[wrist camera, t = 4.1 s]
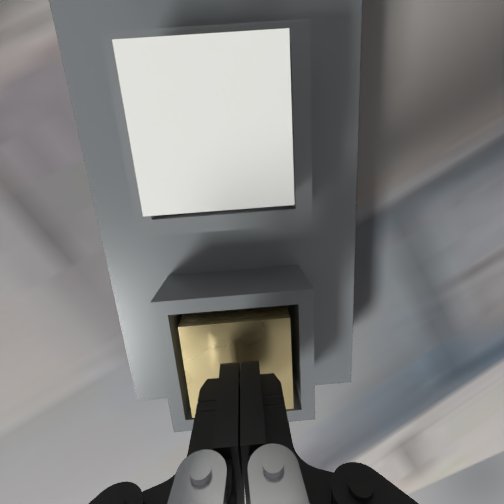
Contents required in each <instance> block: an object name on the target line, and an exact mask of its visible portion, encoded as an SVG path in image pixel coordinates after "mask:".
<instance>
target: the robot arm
mask: <svg viewBox="0 0 504 504" xmlns="http://www.w3.org/2000/svg"><path fill="white" fill-rule="evenodd" d="M244 485H245V494H246V504H418V503H417V502H415V501H414V500H413V499H412V498H410V497H409V496H408V495H406V494H405V493H404V492H402V491H401V490H400V489H399V488H397V487H396V486H395V485H393V484H392V483H391V482H389V481H388V480H387V479H385V478H384V477H383V476H382V475H380V474H379V473H378V472H376V471H375V470H373V469H372V468H370V467H369V466H367V465H364V464H361V463H357V462H349V463H345V464H342V465H341V466H339V467H338V468H337V469H336V470H335V472H334V473H333V472H329V471H325V470H321V469H317V468H314V467H312V466H310V465H308V464H307V463H305V462H304V461H303V460H302V459H301V458H300V457H299V456H298V455H297V453H296V452H295V449H294V447H293V444H292V439H291V433H290V428H289V423H288V417H287V412H286V407H285V401H284V396H283V391H282V385H281V382H280V381H279V379H278V378H277V377H276V375H275V374H274V373H269V374H260V368H259V360H256V361H244V362H240V364H239V362H234V363H222V364H220V371H219V378H212V379H207V380H206V381H205V383H204V384H203V386H202V387H201V388H200V391H199V396H198V404H197V407H196V414H195V418H194V423H193V429H192V434H191V439H190V445H189V450H188V455H187V458H185V459H184V460H183V461H182V463H181V464H180V466H179V467H178V469H177V472H176V474H175V475H174V476H173V477H171V478H170V479H169V480H167V481H165V482H163V483H161V484H159V485H157V486H154V487H152V488H150V489H148V490H145V491H143V492H142V491H141V489H140V488H139V487H138V486H137V485H136V484H134V483H132V482H121V483H117V484H114V485H112V486H110V487H108V488H107V489H105V490H104V491H102V492H101V493H100V494H99V495H98V496H97V497H96V498H94V499H93V500H92V501H91V502H90V503H89V504H245V501H244Z"/></svg>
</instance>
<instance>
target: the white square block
mask: <svg viewBox="0 0 504 504" xmlns="http://www.w3.org/2000/svg"><path fill="white" fill-rule="evenodd" d="M112 43H113V48H114V54H115V60H116V65H117V71H118V77H119V82H120V88H121V94H122V100H123V105H124V111H125V117H126V122H127V128H128V134H129V139H130V145H131V151H132V156H133V162H134V168H135V174H136V179H137V185H138V191H139V196H140V202H141V208H142V213H143V217H144V216H157V215H170V214H183V213H196V212H209V211H223V210H236V209H249V208H262V207H275V206H288V205H295V202H294V168H293V135H292V102H291V68H290V35H289V28H283V29H267V30H252V31H236V32H221V33H205V34H189V35H174V36H158V37H143V38H127V39H112Z"/></svg>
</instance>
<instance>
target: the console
mask: <svg viewBox="0 0 504 504" xmlns="http://www.w3.org/2000/svg"><path fill="white" fill-rule="evenodd" d="M49 2H50V7H51V11H52V16H53V20H54V25H55V29H56V34H57V38H58V43H59V47H60V52H61V57H62V61H63V66H64V70H65V75H66V79H67V84H68V88H69V93H70V97H71V102H72V107H73V111H74V116H75V120H76V125H77V129H78V134H79V138H80V143H81V147H82V152H83V157H84V161H85V166H86V170H87V175H88V179H89V184H90V188H91V193H92V197H93V202H94V206H95V211H96V216H97V220H98V225H99V229H100V234H101V238H102V243H103V247H104V252H105V256H106V261H107V266H108V270H109V275H110V279H111V284H112V288H113V293H114V297H115V302H116V306H117V311H118V316H119V320H120V325H121V329H122V334H123V338H124V343H125V347H126V352H127V356H128V361H129V366H130V370H131V375H132V379H133V384H134V388H135V393H136V397H137V401H142V400H154V399H165V398H168V403H169V409H170V414H171V419H172V425H173V430H174V432H181V431H192V429H193V423H194V418H192V413H191V407H190V401H189V395H188V388H187V382H186V376H185V369H184V363H183V357H182V351H181V344H180V338H179V332H178V325H179V323H180V320H181V318H182V315H183V314H187V313H199V312H211V311H223V310H235V309H247V308H259V307H271V306H283V305H286V307H287V310H288V313H289V316H290V325H291V351H292V377H293V404H294V409H286V412H287V417H288V422H291V421H302V420H313V419H315V385H323V384H334V383H345V382H351V372H352V337H353V301H354V266H355V231H356V196H357V161H358V126H359V91H360V56H361V20H362V0H49ZM283 28H289V35H290V68H291V102H292V135H293V168H294V202H295V205H288V206H275V207H262V208H249V209H236V210H223V211H209V212H196V213H183V214H170V215H157V216H144V217H143V213H142V208H141V202H140V196H139V191H138V185H137V179H136V174H135V168H134V162H133V156H132V151H131V145H130V139H129V134H128V128H127V122H126V117H125V111H124V105H123V100H122V94H121V88H120V82H119V77H118V71H117V65H116V60H115V54H114V48H113V43H112V39H127V38H143V37H158V36H174V35H189V34H205V33H221V32H236V31H252V30H267V29H283Z"/></svg>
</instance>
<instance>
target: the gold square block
mask: <svg viewBox="0 0 504 504" xmlns="http://www.w3.org/2000/svg"><path fill="white" fill-rule="evenodd" d="M178 332H179V338H180V344H181V351H182V357H183V363H184V369H185V376H186V382H187V388H188V395H189V401H190V407H191V413H192V418H195V414H196V407H197V404H198V396H199V391H200V388H201V387H202V386H203V384H204V383H205V381H206V380H207V379H212V378H219V371H220V364H222V363H234V362H239V364H240V362H244V361H256V360H259V368H260V374H269V373H274V374H275V375H276V377H277V378H278V379H279V381H280V382H281V385H282V391H283V396H284V401H285V407H286V409H294V404H293V377H292V351H291V325H290V316H289V313H288V310H287V307H286V305H283V306H271V307H259V308H247V309H235V310H223V311H211V312H199V313H187V314H183V315H182V318H181V320H180V323H179V325H178Z"/></svg>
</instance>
